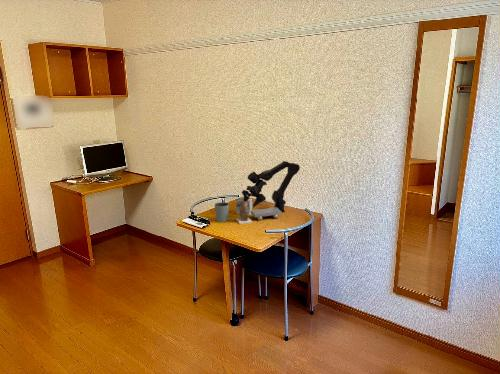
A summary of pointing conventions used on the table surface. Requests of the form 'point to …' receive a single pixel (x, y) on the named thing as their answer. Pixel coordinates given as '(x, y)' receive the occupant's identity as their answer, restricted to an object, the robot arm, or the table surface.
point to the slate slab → (266, 213)
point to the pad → (244, 221)
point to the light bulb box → (249, 205)
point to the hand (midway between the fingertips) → (248, 205)
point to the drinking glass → (221, 211)
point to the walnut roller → (243, 211)
